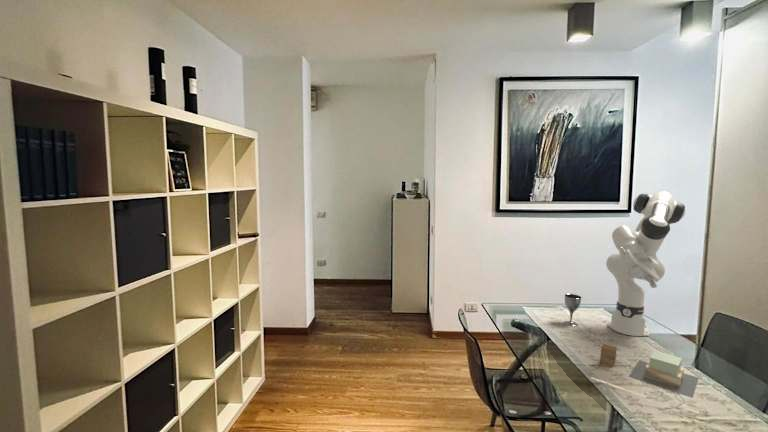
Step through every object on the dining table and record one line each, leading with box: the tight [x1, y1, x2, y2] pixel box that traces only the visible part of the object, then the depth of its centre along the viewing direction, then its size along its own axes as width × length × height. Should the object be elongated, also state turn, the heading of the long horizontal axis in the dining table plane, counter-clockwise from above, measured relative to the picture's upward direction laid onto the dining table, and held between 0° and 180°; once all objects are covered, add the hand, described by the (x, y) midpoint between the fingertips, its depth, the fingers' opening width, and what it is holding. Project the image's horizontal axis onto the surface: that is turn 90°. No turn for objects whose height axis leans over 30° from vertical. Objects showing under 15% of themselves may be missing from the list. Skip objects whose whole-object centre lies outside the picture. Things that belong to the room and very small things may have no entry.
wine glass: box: [563, 293, 582, 327], centre depth 210 cm, size 8×8×15 cm
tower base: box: [644, 360, 685, 388], centre depth 155 cm, size 11×11×4 cm
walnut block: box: [599, 342, 618, 368], centre depth 165 cm, size 5×5×8 cm
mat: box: [628, 359, 700, 398], centre depth 155 cm, size 20×20×1 cm
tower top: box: [649, 350, 683, 376], centre depth 154 cm, size 9×9×4 cm
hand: (647, 282), depth 158 cm, fingers open, 8 cm apart
